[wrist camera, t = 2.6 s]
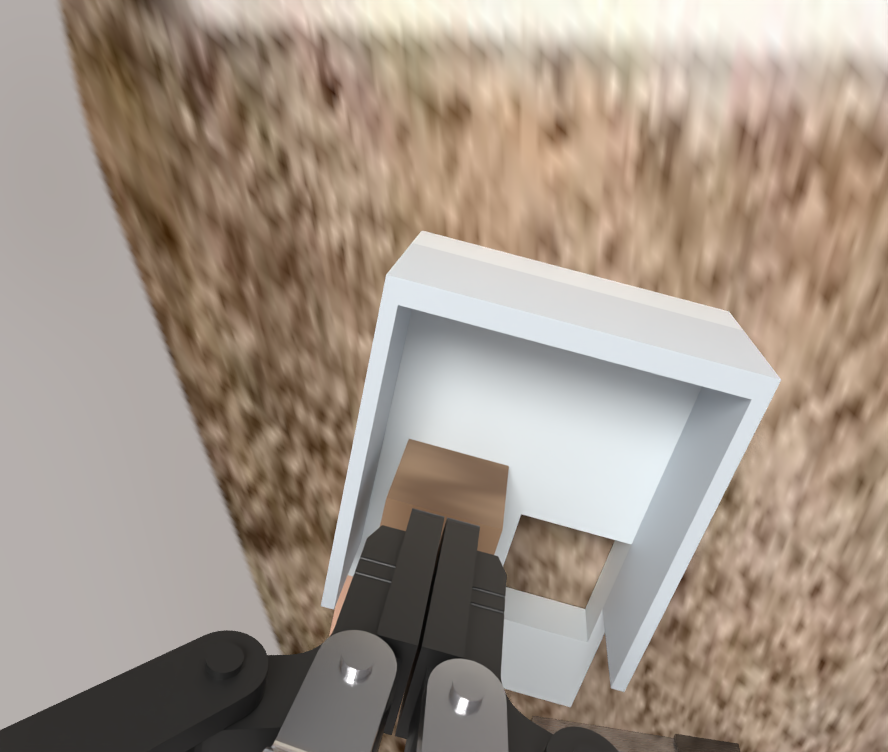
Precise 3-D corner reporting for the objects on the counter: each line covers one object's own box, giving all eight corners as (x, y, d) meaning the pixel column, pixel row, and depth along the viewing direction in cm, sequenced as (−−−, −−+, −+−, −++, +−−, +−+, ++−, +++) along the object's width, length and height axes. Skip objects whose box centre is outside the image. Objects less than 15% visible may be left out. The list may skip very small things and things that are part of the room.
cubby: (728, 311, 24) (781, 379, 19) (569, 672, 32) (573, 792, 27) (421, 230, 25) (386, 274, 19) (340, 607, 33) (299, 713, 27)
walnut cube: (508, 466, 26) (502, 529, 22) (483, 545, 27) (473, 616, 24) (408, 438, 26) (386, 497, 22) (389, 519, 28) (365, 586, 24)
